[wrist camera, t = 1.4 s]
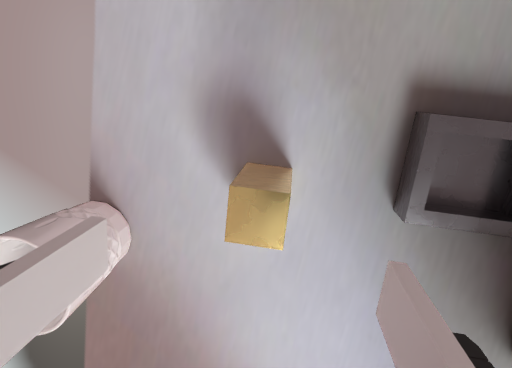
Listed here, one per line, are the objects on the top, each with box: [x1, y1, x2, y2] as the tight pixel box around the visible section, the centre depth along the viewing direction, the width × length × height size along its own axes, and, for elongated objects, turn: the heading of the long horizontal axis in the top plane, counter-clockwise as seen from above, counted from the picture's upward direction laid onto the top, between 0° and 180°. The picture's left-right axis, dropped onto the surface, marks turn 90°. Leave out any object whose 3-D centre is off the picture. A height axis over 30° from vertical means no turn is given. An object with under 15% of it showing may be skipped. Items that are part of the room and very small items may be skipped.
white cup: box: [0, 201, 132, 336], centre depth 28 cm, size 8×8×10 cm
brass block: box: [225, 162, 292, 250], centre depth 25 cm, size 4×4×8 cm
